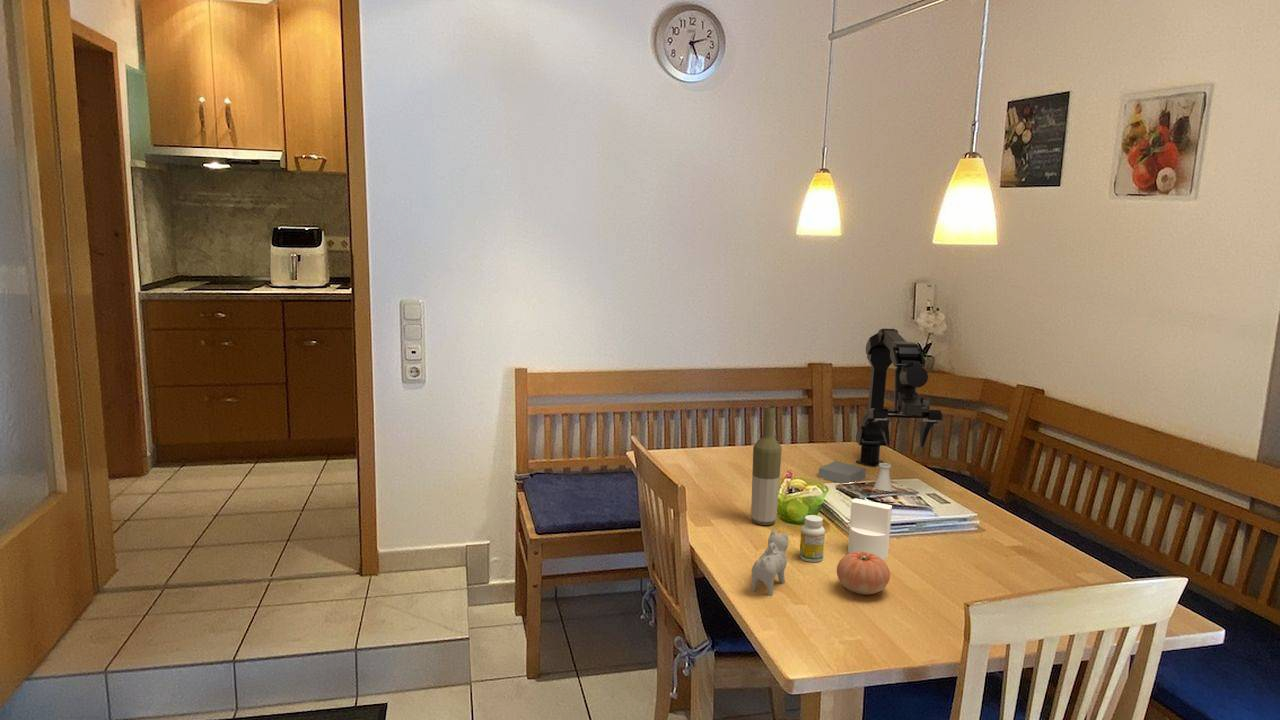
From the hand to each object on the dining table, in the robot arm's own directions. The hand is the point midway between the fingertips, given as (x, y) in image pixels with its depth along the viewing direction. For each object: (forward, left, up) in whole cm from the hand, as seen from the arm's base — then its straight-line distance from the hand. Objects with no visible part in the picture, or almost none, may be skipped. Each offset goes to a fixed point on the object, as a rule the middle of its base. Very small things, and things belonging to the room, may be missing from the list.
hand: (905, 446), depth 229 cm
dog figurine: (+70, +2, -16) cm, 72 cm away
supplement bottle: (+52, +2, -16) cm, 54 cm away
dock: (-6, -21, -15) cm, 27 cm away
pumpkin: (+59, +18, -16) cm, 63 cm away
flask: (+3, -4, -16) cm, 16 cm away
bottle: (+41, -18, -16) cm, 47 cm away
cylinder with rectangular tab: (+40, +10, -16) cm, 44 cm away
